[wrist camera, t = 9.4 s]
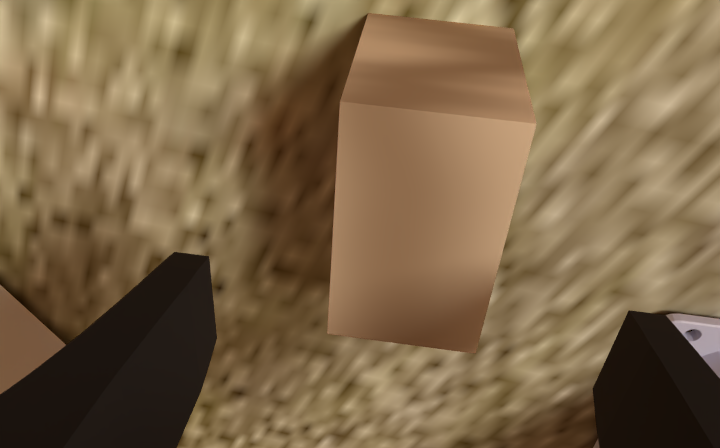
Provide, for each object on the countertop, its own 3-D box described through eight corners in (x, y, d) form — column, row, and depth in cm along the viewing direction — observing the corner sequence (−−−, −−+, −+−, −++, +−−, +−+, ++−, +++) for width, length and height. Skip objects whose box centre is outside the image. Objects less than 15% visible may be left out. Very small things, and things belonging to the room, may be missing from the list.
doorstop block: (513, 27, 15) (536, 124, 11) (469, 226, 19) (475, 353, 15) (368, 12, 15) (339, 101, 11) (353, 212, 19) (327, 334, 15)
